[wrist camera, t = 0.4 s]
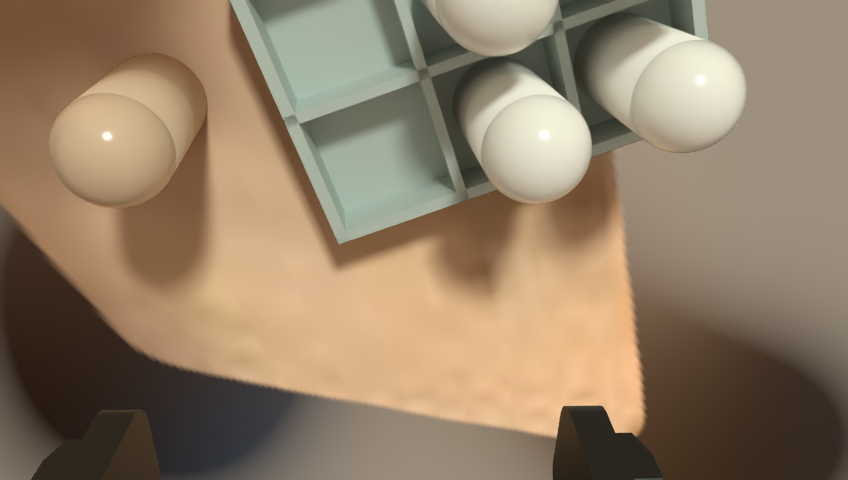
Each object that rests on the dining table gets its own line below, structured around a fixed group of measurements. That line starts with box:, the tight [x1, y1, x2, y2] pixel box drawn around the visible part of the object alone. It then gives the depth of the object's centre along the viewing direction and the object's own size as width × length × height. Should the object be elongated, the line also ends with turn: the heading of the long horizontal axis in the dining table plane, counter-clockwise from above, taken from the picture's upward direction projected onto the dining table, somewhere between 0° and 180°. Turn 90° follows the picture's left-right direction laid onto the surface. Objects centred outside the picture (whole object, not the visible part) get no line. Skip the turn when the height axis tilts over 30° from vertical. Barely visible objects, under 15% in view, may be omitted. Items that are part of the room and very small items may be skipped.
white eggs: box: [420, 0, 747, 204], centre depth 27 cm, size 11×11×10 cm
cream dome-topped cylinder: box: [49, 54, 207, 208], centre depth 28 cm, size 5×5×10 cm
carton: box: [230, 0, 708, 244], centre depth 31 cm, size 14×20×3 cm
